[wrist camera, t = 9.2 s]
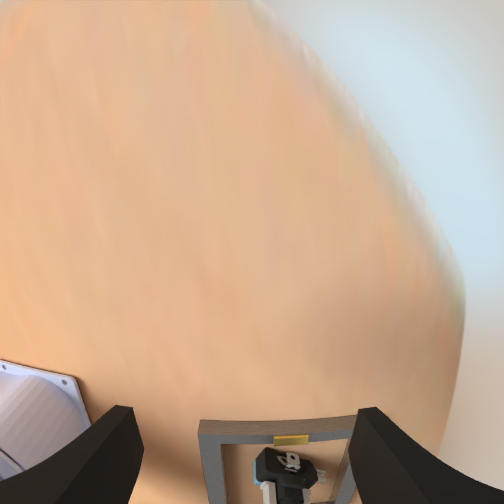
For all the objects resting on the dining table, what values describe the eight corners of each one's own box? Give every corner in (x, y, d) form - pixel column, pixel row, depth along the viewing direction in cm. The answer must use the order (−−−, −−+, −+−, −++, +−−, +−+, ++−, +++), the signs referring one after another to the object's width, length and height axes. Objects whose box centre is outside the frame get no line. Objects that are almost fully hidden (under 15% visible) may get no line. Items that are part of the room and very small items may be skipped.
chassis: (213, 509, 24) (212, 523, 22) (200, 419, 21) (197, 436, 19) (341, 504, 24) (344, 516, 22) (372, 412, 21) (379, 427, 19)
